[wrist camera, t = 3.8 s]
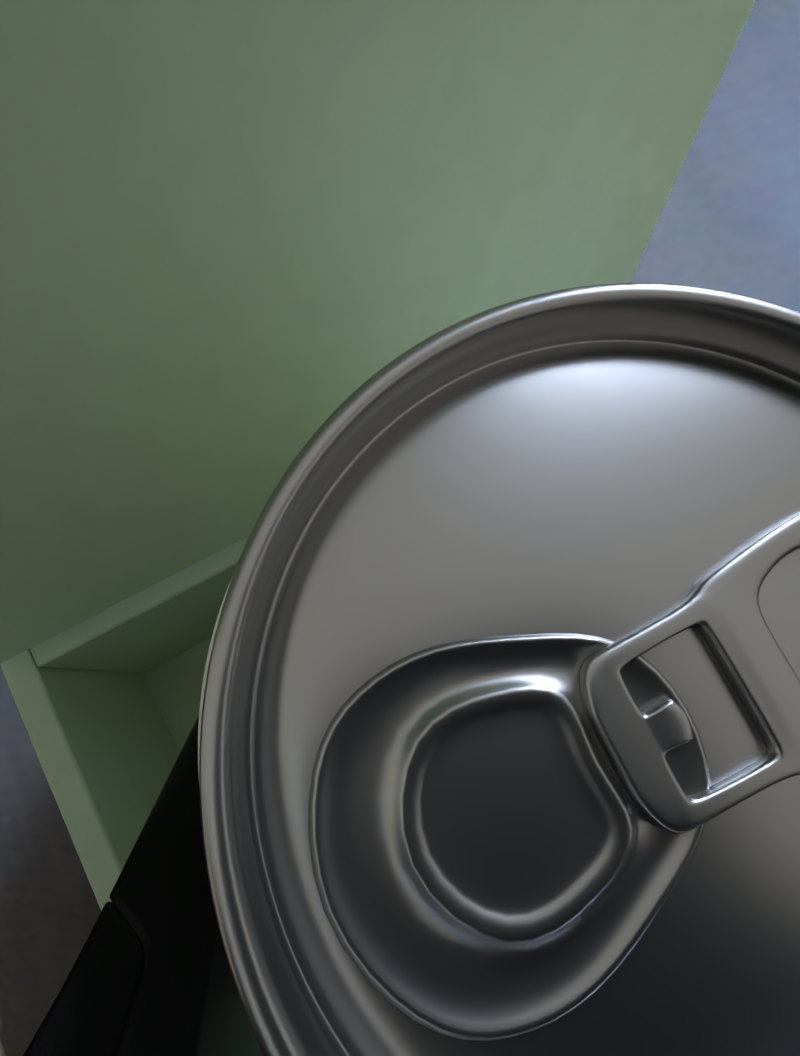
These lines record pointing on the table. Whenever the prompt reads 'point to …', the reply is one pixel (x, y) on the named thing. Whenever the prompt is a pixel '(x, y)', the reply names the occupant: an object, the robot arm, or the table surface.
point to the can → (524, 695)
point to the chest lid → (286, 236)
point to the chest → (120, 707)
